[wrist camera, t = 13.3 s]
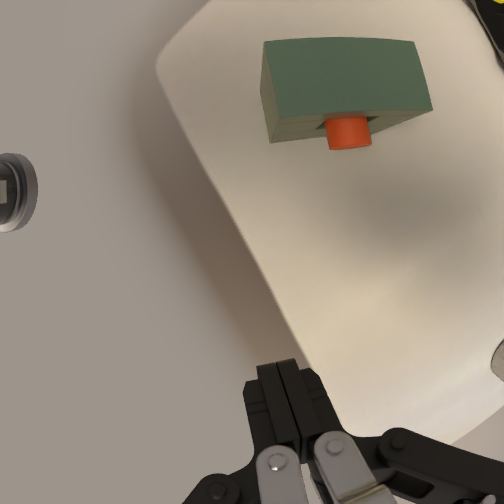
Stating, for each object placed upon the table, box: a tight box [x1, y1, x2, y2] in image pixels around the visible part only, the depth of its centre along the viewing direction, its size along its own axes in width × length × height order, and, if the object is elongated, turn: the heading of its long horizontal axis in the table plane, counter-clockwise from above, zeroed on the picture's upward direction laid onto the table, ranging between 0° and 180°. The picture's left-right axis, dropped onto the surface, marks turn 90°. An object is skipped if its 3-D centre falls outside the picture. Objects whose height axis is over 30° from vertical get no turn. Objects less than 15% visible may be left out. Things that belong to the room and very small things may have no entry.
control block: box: [260, 37, 433, 143], centre depth 24 cm, size 6×12×12 cm, turn 99°
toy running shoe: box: [470, 0, 504, 62], centre depth 23 cm, size 15×6×10 cm
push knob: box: [324, 117, 372, 150], centre depth 23 cm, size 3×4×4 cm
